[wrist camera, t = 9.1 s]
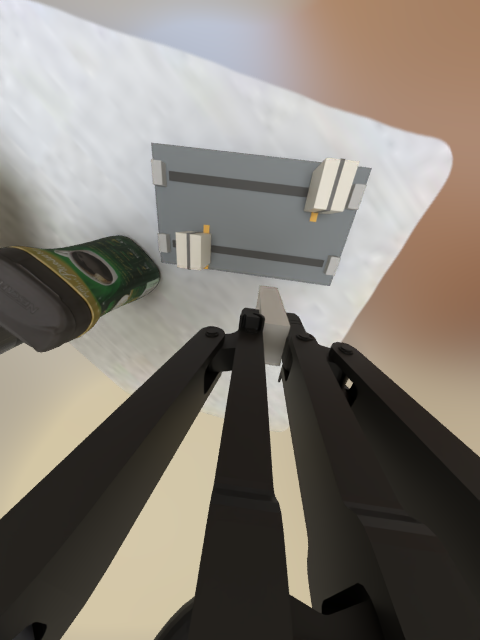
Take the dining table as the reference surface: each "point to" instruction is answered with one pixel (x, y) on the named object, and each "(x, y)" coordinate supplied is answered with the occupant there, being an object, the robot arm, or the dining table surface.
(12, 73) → the dining table surface
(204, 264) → the fader
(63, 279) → the coffee jar
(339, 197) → the fader
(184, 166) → the console
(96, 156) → the dining table surface
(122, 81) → the dining table surface
